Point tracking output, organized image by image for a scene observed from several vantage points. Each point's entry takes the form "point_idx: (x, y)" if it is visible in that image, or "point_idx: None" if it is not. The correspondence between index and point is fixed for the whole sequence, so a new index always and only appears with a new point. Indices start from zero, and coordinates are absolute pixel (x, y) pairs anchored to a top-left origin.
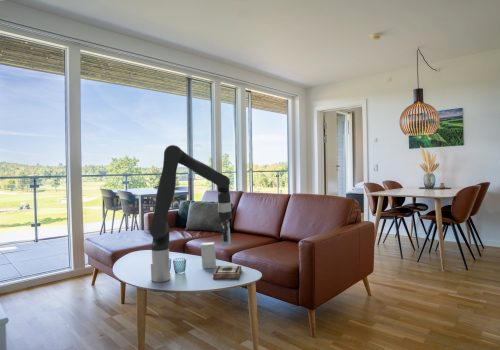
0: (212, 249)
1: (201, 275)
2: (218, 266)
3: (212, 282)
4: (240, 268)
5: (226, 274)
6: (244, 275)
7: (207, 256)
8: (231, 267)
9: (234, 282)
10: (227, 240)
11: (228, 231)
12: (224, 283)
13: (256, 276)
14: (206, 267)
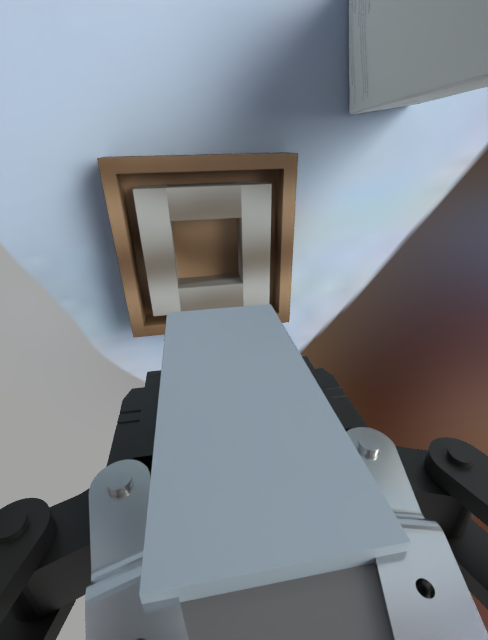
0: (451, 60)
1: (174, 19)
2: (280, 163)
3: (39, 167)
4: None
5: (119, 264)
6: None
7: (403, 4)
8: (246, 272)
9: (81, 311)
10: None
11: None
12: (46, 257)
13: None
14: (350, 24)
